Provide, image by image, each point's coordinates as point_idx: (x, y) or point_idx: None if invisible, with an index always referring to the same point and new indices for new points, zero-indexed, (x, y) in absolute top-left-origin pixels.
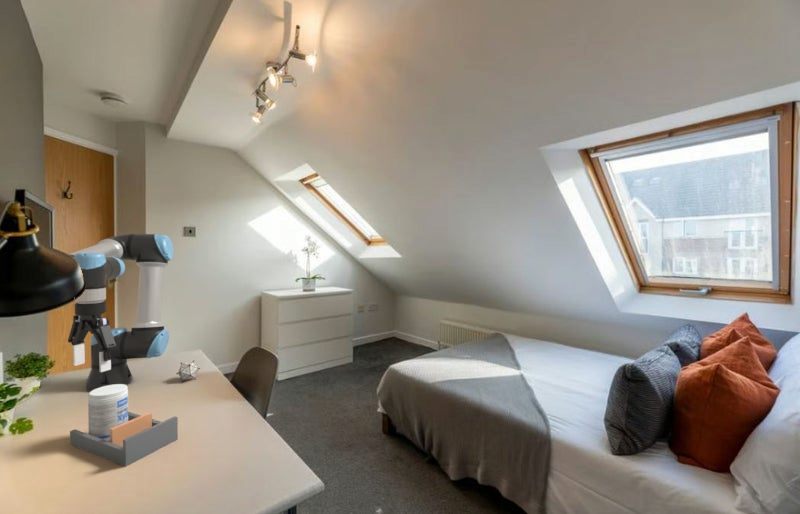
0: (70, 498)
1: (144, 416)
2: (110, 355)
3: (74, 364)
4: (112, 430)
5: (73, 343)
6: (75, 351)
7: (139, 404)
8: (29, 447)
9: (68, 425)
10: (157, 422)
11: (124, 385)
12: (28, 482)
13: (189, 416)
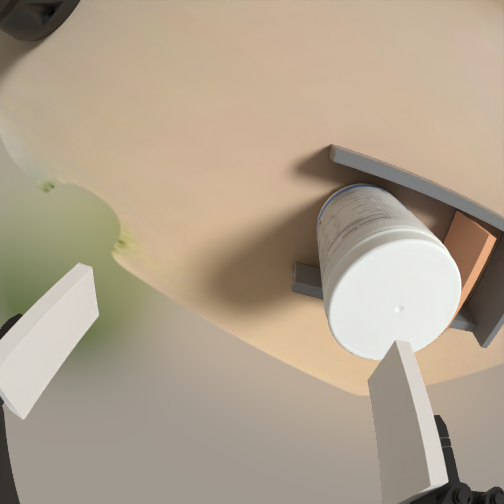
0: (428, 375)
1: (486, 258)
2: (449, 446)
3: (92, 320)
4: (446, 328)
5: (2, 423)
6: (44, 382)
7: (261, 24)
8: (209, 290)
9: (178, 190)
10: (490, 219)
11: (439, 258)
12: (339, 367)
13: (487, 102)
